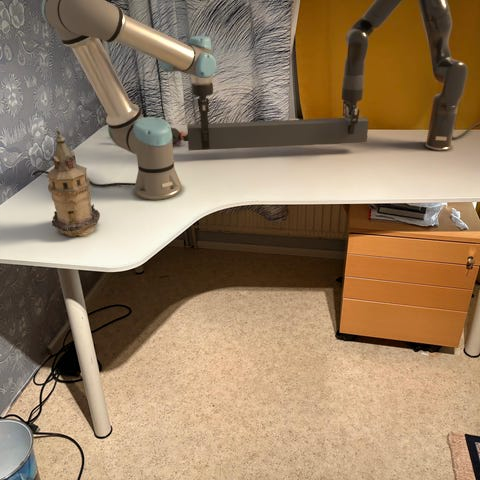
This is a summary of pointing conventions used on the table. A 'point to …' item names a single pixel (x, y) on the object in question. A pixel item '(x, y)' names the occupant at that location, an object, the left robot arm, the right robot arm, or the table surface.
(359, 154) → the table surface
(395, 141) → the table surface
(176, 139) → the toy
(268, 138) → the post
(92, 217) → the miniature building
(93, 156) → the table surface
